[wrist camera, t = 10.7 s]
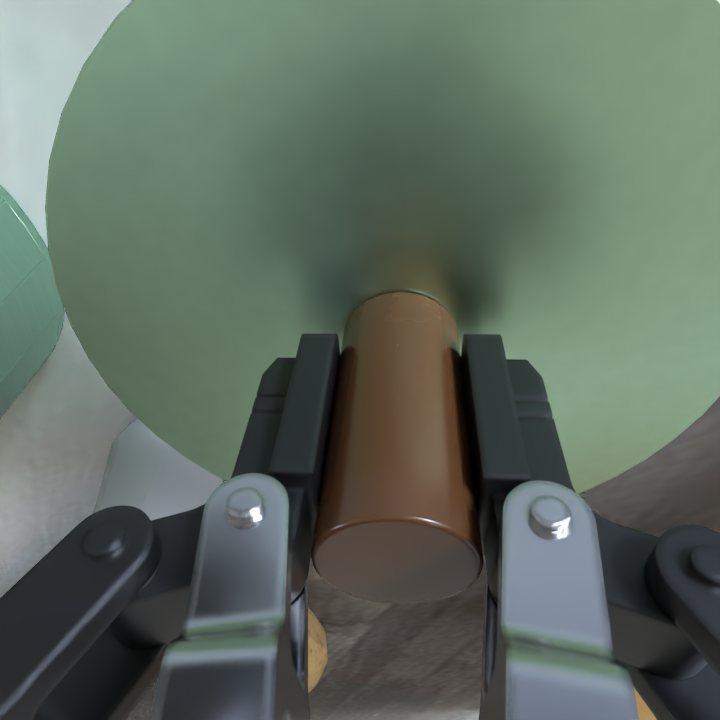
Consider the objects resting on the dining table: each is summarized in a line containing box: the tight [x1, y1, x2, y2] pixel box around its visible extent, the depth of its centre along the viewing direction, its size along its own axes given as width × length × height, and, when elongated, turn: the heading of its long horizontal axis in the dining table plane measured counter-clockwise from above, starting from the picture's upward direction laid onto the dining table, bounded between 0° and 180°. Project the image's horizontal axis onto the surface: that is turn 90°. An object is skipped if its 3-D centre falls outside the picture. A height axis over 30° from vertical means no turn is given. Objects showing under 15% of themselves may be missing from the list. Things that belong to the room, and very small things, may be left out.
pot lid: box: [45, 0, 720, 604], centre depth 11 cm, size 16×16×7 cm
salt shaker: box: [93, 419, 223, 520], centre depth 24 cm, size 6×6×13 cm
